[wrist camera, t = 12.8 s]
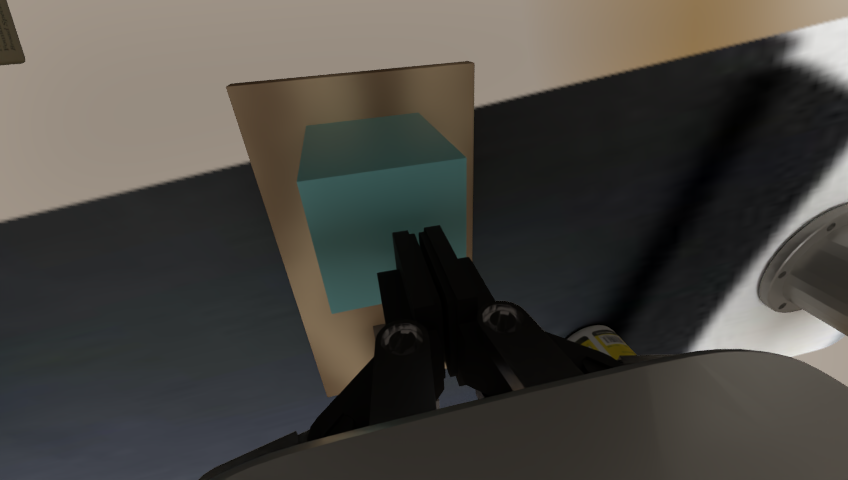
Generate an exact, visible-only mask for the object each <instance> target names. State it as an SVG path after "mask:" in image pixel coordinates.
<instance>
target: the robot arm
mask: <svg viewBox="0 0 848 480" xmlns="http://www.w3.org/2000/svg"><path fill="white" fill-rule="evenodd" d="M392 238H393V246H394V254H395V261H396V270H390V271H384V272H379V273H377V277H378V283H379V290H380V296H381V302H382V308H383V314H384V319H385V326H384V327H383V328H382V329H381V330H380V331H379V332H378V334H377V336H376V340H375V350H374V357H373V358H372V359H371V360H370V361H369V362H368V363H367V364H366V366H365V367H364V368H363V369H362V370H361V371H360V372H359V373H358V374H357V375H356V376H355V377H354V379H353V380H352V381H351V382H350V383H349V384H348V385H347V386H346V387H345V388H344V389H343V390H342V392H341V393H340V394H339V395H338V396H337V397H336V398H335V399H334V400H333V401H332V402H331V403H330V405H329V406H328V407H327V408H326V409H325V410H324V411H323V412H322V413H321V414H320V415H319V417H318V418H317V419H316V420H315V422H314V423H313V424H312V426H311V428H310V430H307V431H305V432H303V433H301V434H299V435H298V434H297V432H296V431H295V432H292V433H290V434H288V435H286V436H284V437H281V438H279V439H277V440H275V441H272V442H270V443H268V444H266V445H264V446H261V447H259V448H257V449H255V450H253V451H250V452H248V453H246V454H244V455H241V456H239V457H237V458H235V459H233V460H230V461H228V462H226V463H224V464H221V465H219V466H217V467H215V468H213V469H212V470H210V471H208V472H207V473H205V474H204V475H203V476H202V477H201V478H200V479H199V480H848V387H847V386H845V385H844V384H842V383H841V382H839V381H837V380H836V379H834V378H832V377H831V376H829V375H827V374H825V373H824V372H822V371H820V370H819V369H817V368H815V367H813V366H811V365H809V364H807V363H805V362H802V361H800V360H797V359H794V358H791V357H787V356H783V355H779V354H775V353H769V352H763V351H754V350H744V349H715V350H704V351H695V352H689V353H683V354H675V355H619V358H618V360H615V359H614V358H613V357H611V356H609V355H607V354H605V353H603V352H600V351H597V350H595V349H592V348H589V347H586V346H584V345H581V344H578V343H575V342H573V341H570V340H567V339H564V338H562V337H559V336H556V335H553V334H550V333H548V332H545V331H544V330H543V329H542V328H541V327H540V326H539V325H538V324H537V323H536V322H535V320H534V319H533V318H532V317H531V316H530V315H529V314H528V313H527V312H526V311H525V310H524V309H523V308H522V307H520V306H519V305H517V304H515V303H512V302H508V301H495V300H494V298H493V296H492V295H491V293H490V291H489V290H488V288H487V286H486V285H485V283H484V281H483V279H482V278H481V276H480V274H479V273H478V271H477V269H476V267H475V266H474V264H473V262H472V261H471V259H470V258H469V257H464V258H457V256H456V254H455V252H454V251H453V249H452V247H451V245H450V243H449V241H448V239H447V237H446V236H445V234H444V232H443V230H442V228H441V226H440V225H437V226H430V227H424V232H419V243H418V241H417V238H416V236H415V233H412V234H409V232H408V230H405V231H399V232H393V233H392ZM759 294H760V299H761V301H762V303H764V304H765V305H766V306H768V307H769V308H771V309H772V310H774V311H776V312H782V313H785V312H794V311H798V310H801V309H803V310H805V311H807V312H808V313H810V314H812V315H813V316H815V317H817V318H818V319H820V320H822V321H823V322H825V323H827V324H828V325H830V326H832V327H833V328H835V329H837V330H838V331H840V332H842V333H843V334H845V335H847V336H848V204H846V205H843V206H840V207H838V208H835V209H833V210H831V211H829V212H827V213H825V214H823V215H821V216H820V217H818V218H817V219H815V220H814V221H812V222H811V223H809V224H808V225H807V226H805V227H804V228H803V229H802V230H800V231H799V232H798V233H797V234H796V235H795V236H794V237H792V238H791V239H790V240H789V241H788V242H787V243H786V244H785V245H784V247H783V248H782V249H781V250H780V251H779V252H778V253H777V255H776V256H775V257H774V259H773V260H772V261H771V263H770V264H769V266H768V268H767V269H766V271H765V273H764V275H763V278H762V280H761V283H760V288H759ZM445 364H446V367H447V370H448V373H449V375H450V377H453V376H456V378H457V381H458V384H459V386H463V385H467V386H470V387H472V388H474V389H476V396H477V398H478V400H474V401H470V402H466V403H462V404H457V405H453V406H449V407H445V408H441V409H436V401H437V399H438V398H439V396H440V395H441V393H442V392H443V390H444V378H445Z"/></svg>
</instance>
